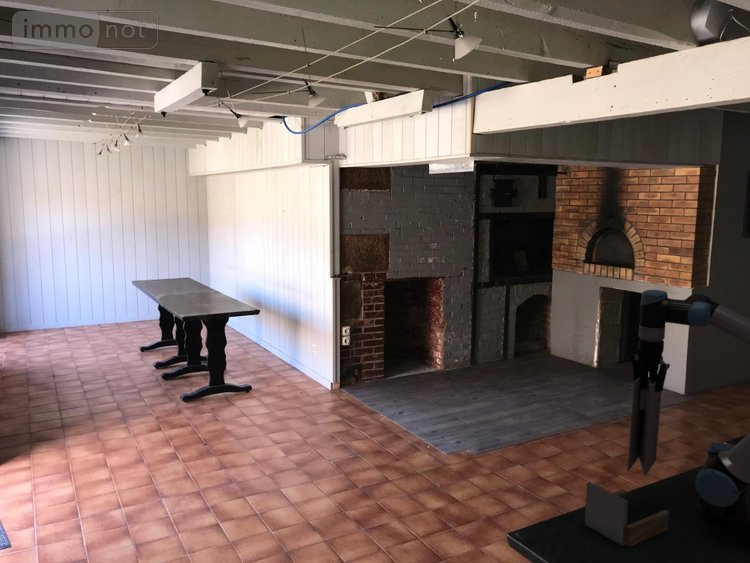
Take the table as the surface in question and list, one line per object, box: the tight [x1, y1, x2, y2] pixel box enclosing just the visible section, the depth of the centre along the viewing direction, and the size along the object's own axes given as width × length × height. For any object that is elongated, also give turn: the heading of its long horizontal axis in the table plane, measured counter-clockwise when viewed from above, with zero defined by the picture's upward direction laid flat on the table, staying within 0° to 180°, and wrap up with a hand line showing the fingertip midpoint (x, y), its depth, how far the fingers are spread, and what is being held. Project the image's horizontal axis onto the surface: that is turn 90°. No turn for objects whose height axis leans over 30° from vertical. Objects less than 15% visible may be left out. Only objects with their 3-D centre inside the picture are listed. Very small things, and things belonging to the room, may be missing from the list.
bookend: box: [584, 481, 629, 547], centre depth 191 cm, size 14×2×14 cm, turn 30°
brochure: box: [627, 375, 663, 477], centre depth 202 cm, size 14×6×30 cm, turn 143°
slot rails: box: [584, 488, 670, 548], centre depth 196 cm, size 17×18×6 cm
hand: (646, 409), depth 201 cm, fingers open, 1 cm apart
